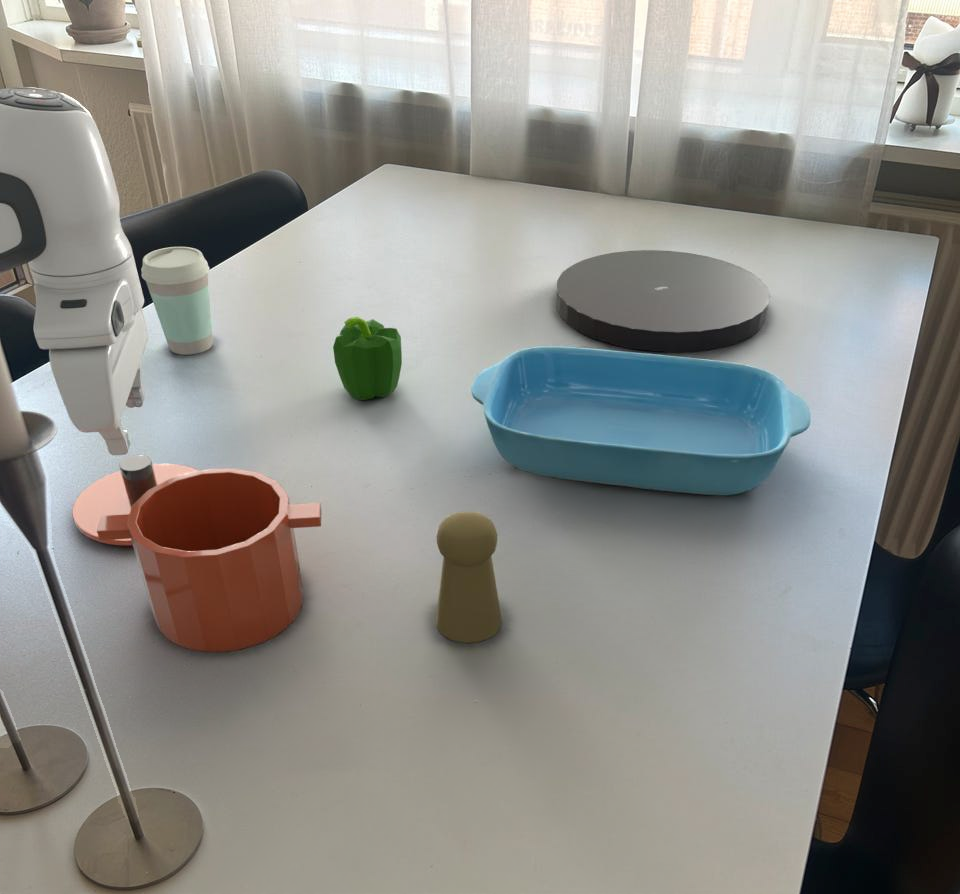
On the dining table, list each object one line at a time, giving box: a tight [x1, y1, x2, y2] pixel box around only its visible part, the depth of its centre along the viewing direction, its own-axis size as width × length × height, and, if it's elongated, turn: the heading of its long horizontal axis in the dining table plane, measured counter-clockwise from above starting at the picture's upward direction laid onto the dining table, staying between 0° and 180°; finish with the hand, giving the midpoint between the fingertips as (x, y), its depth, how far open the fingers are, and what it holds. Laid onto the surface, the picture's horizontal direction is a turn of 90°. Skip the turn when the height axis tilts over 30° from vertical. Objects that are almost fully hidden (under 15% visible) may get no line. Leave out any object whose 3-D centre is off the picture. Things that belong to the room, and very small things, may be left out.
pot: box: [97, 467, 322, 653], centre depth 90 cm, size 14×19×10 cm
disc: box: [555, 249, 771, 353], centre depth 143 cm, size 30×30×3 cm
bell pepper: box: [332, 316, 403, 401], centre depth 122 cm, size 8×8×10 cm
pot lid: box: [71, 454, 200, 546], centre depth 104 cm, size 15×15×6 cm
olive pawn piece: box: [435, 510, 503, 644], centre depth 88 cm, size 6×6×11 cm
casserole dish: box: [470, 345, 811, 496], centre depth 112 cm, size 37×22×7 cm, turn 79°
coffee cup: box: [140, 246, 214, 356], centre depth 131 cm, size 8×8×12 cm
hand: (128, 426), depth 99 cm, fingers open, 8 cm apart
